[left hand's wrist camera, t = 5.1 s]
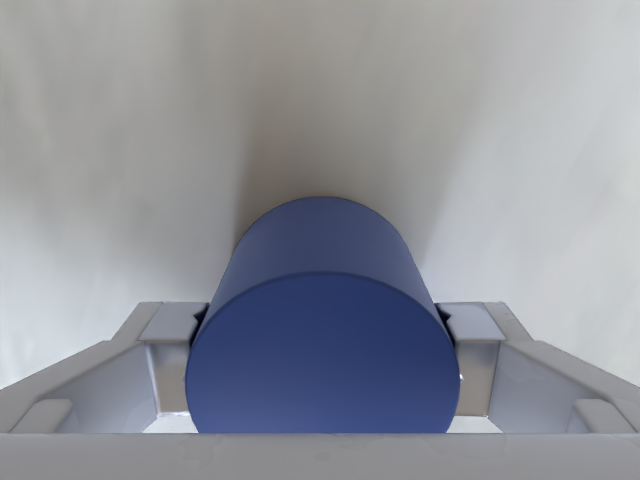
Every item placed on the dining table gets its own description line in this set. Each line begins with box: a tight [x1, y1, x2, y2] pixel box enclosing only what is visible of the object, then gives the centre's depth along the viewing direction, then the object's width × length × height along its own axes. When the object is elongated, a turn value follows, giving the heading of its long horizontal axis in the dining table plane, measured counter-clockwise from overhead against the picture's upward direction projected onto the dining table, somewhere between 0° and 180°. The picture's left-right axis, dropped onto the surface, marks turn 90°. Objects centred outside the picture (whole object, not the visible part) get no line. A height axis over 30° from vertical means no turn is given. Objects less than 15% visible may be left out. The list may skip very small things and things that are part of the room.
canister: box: [185, 197, 461, 433], centre depth 10 cm, size 5×5×4 cm
